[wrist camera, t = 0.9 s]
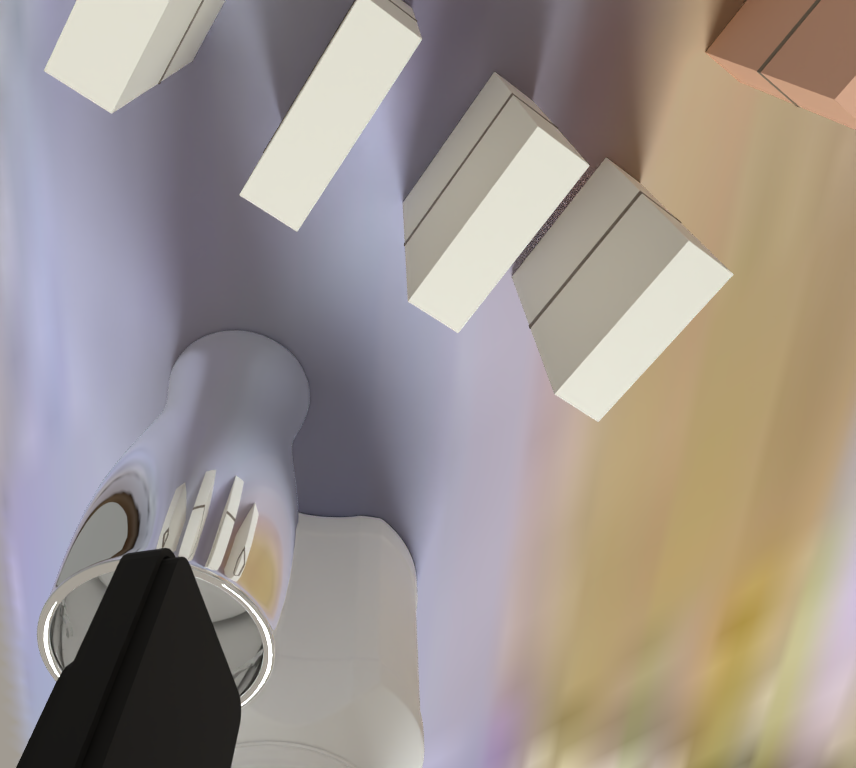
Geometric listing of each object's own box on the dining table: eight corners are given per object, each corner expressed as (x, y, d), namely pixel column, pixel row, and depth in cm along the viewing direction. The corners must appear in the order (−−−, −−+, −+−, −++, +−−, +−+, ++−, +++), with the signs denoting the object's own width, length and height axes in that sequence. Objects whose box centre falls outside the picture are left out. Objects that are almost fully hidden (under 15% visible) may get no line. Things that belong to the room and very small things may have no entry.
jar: (433, 523, 40) (455, 808, 27) (397, 662, 45) (401, 965, 31) (194, 490, 39) (94, 776, 26) (181, 637, 43) (90, 945, 30)
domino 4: (640, 183, 33) (734, 274, 24) (545, 299, 35) (598, 422, 26) (606, 156, 32) (688, 239, 23) (510, 276, 34) (553, 394, 25)
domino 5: (863, -68, 29) (1073, -69, 20) (739, 82, 31) (878, 140, 22) (828, -103, 28) (1027, -121, 19) (704, 52, 30) (833, 100, 22)
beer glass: (127, 362, 35) (-28, 615, 22) (266, 292, 34) (189, 515, 21) (218, 479, 38) (130, 762, 25) (348, 419, 37) (327, 683, 24)
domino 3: (533, 100, 31) (590, 165, 22) (439, 228, 33) (458, 334, 24) (494, 70, 30) (537, 125, 22) (401, 203, 33) (407, 301, 24)
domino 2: (412, 7, 29) (423, 39, 20) (322, 149, 31) (297, 232, 23) (369, -26, 29) (361, -9, 20) (280, 121, 31) (238, 195, 22)
